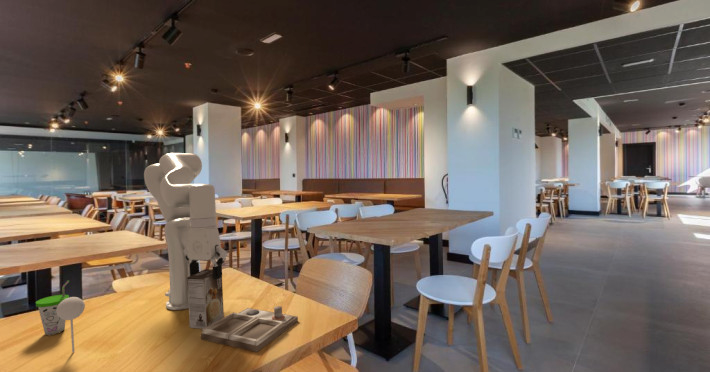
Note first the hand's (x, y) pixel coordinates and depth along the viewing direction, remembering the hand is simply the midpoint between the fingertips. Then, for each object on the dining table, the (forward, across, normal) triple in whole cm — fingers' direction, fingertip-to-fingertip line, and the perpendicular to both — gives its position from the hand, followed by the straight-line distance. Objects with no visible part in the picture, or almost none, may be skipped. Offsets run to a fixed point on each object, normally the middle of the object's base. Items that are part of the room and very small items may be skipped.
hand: (206, 277), depth 109 cm
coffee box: (+15, -1, 0) cm, 15 cm away
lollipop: (+15, -21, -27) cm, 37 cm away
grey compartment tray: (+15, +16, +1) cm, 22 cm away
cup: (+14, -40, -22) cm, 48 cm away
